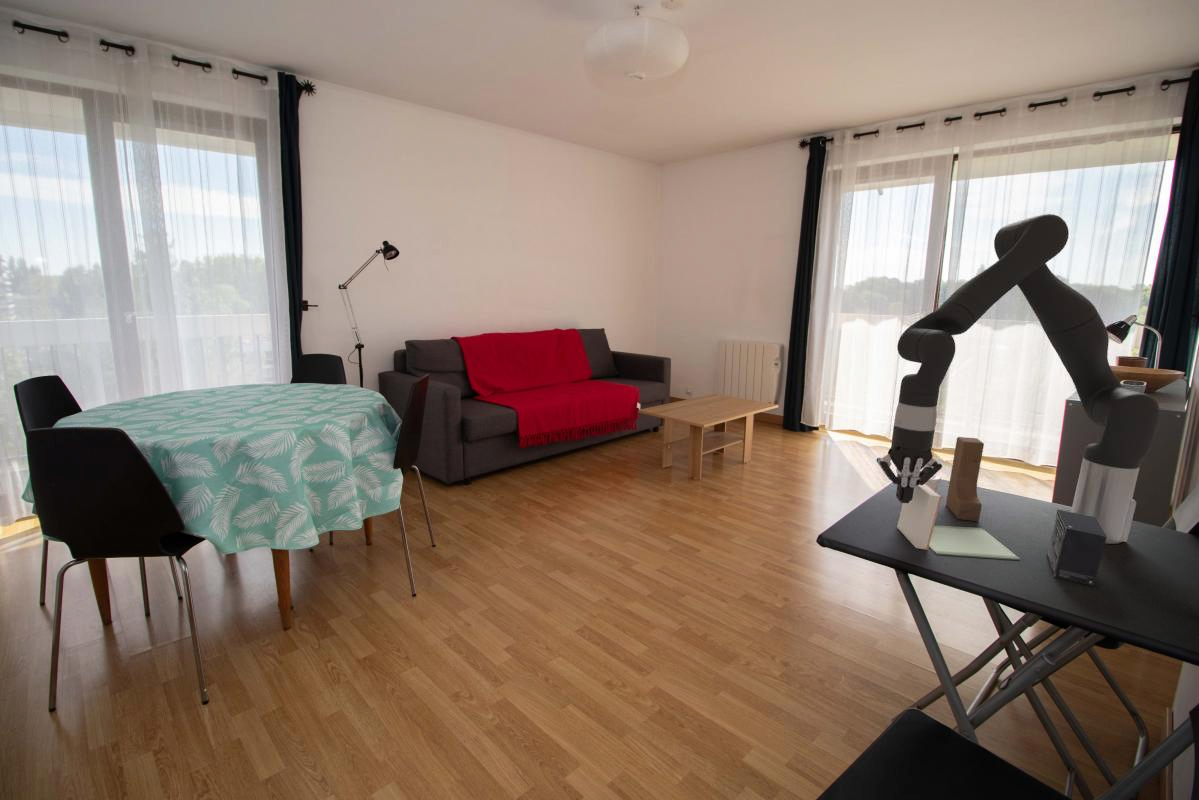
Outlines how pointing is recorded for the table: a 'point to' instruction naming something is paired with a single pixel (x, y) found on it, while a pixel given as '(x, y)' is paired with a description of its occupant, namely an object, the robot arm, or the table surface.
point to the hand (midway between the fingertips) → (903, 501)
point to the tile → (920, 516)
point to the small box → (1076, 547)
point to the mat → (967, 543)
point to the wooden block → (965, 479)
